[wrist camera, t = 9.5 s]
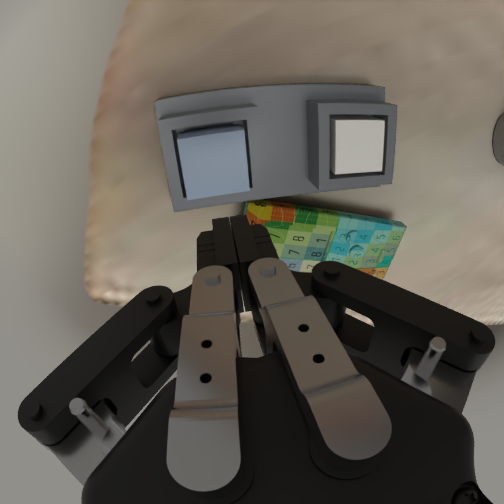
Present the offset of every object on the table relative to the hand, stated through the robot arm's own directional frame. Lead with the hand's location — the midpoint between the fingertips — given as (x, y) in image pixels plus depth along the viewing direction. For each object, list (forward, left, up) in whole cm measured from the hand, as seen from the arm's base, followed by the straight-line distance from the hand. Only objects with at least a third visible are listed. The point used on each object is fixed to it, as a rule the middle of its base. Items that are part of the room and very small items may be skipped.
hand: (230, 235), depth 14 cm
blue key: (0, 0, -14) cm, 14 cm away
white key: (-12, +5, -16) cm, 20 cm away
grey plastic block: (-6, +2, -19) cm, 20 cm away
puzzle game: (-4, +17, -20) cm, 26 cm away
